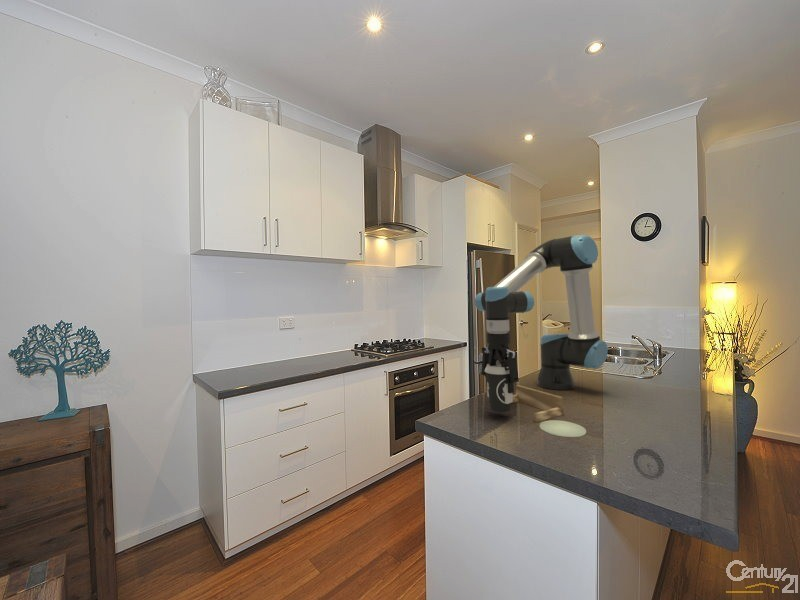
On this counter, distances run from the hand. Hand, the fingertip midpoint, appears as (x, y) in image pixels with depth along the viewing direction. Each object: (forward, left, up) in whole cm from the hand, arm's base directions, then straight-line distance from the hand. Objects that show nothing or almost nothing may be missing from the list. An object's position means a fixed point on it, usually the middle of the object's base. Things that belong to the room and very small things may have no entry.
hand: (499, 399), depth 118 cm
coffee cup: (0, 0, -4) cm, 4 cm away
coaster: (-8, +18, -6) cm, 20 cm away
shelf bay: (-12, 0, -6) cm, 14 cm away
